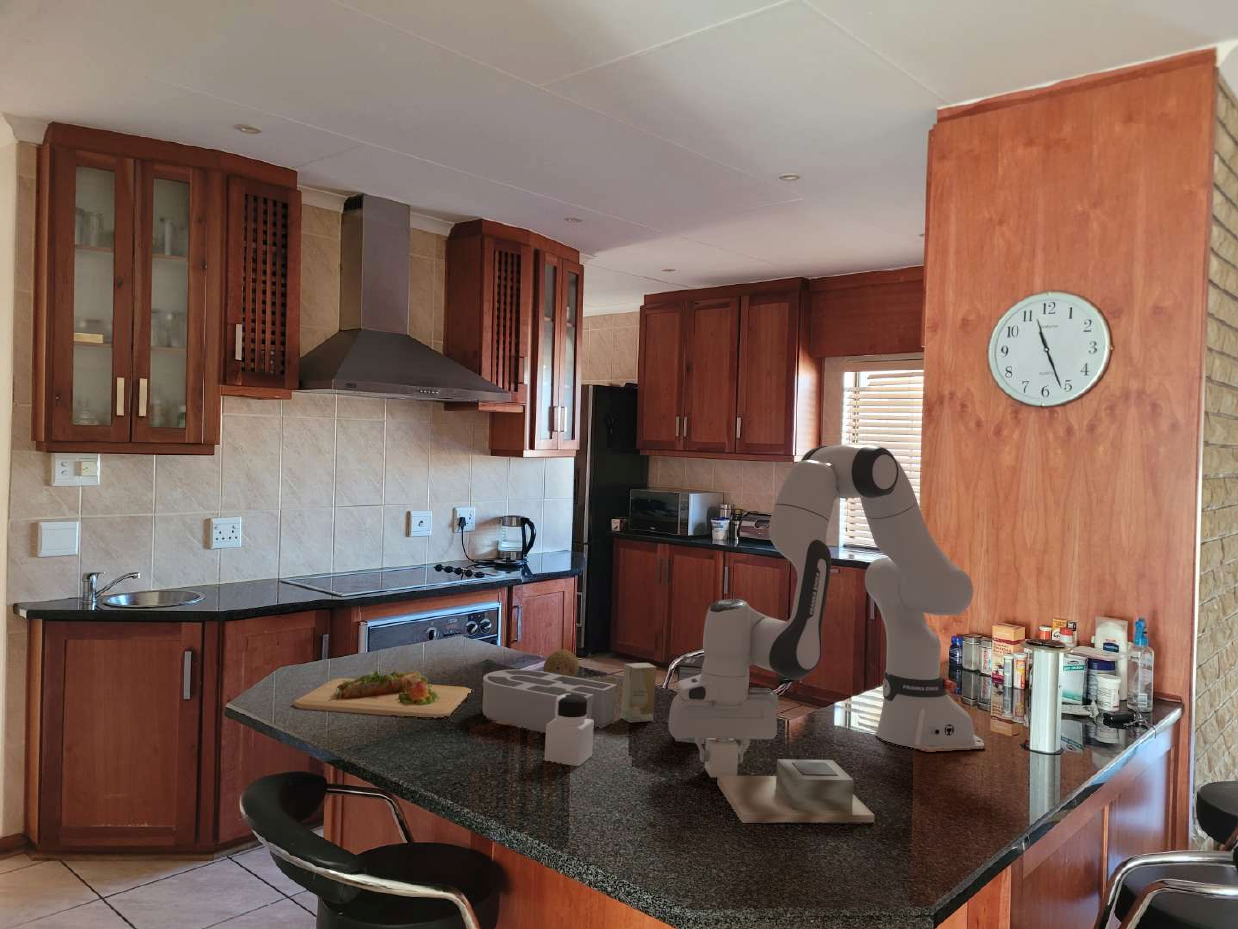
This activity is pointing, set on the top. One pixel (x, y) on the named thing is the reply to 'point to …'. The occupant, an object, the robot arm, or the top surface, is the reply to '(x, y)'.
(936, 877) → the top surface
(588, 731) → the medicine bottle
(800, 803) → the display stand
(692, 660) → the food carton
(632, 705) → the skincare box
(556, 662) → the natural sponge
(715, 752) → the building block
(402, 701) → the cutting board
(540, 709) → the grey compartment organizer
